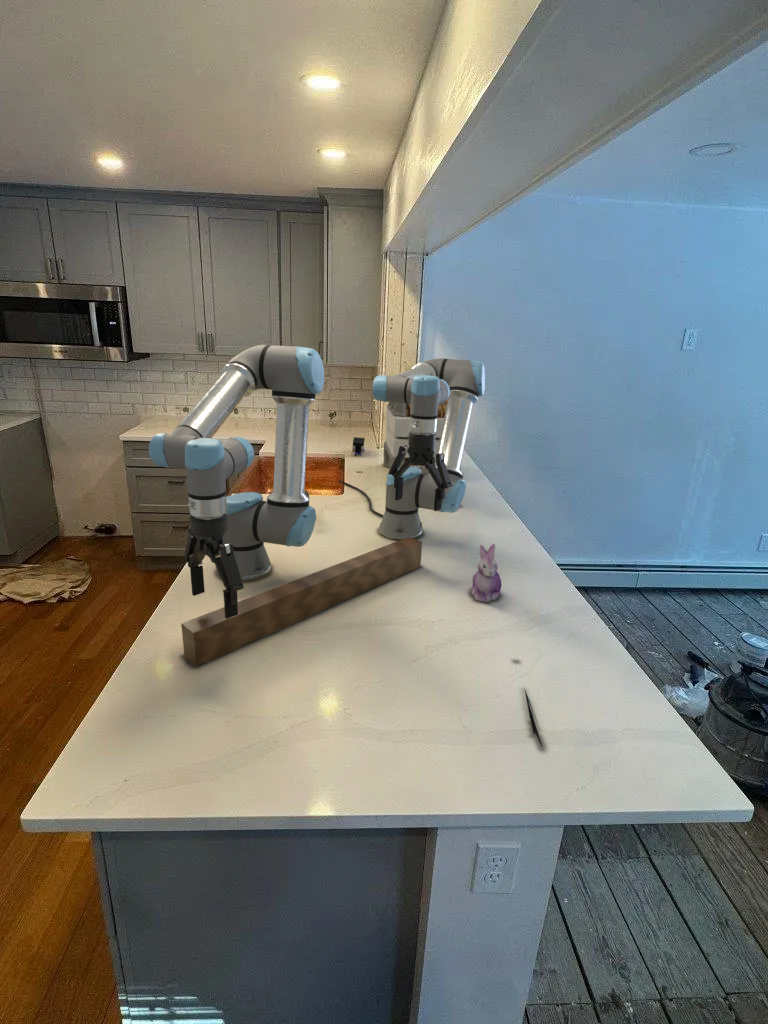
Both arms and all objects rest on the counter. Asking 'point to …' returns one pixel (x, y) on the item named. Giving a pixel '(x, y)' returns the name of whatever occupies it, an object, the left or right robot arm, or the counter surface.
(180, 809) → the counter surface
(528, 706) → the feather
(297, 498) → the left robot arm
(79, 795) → the counter surface
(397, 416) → the transformer
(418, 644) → the counter surface
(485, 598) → the figurine
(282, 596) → the bar
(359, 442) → the figurine character
